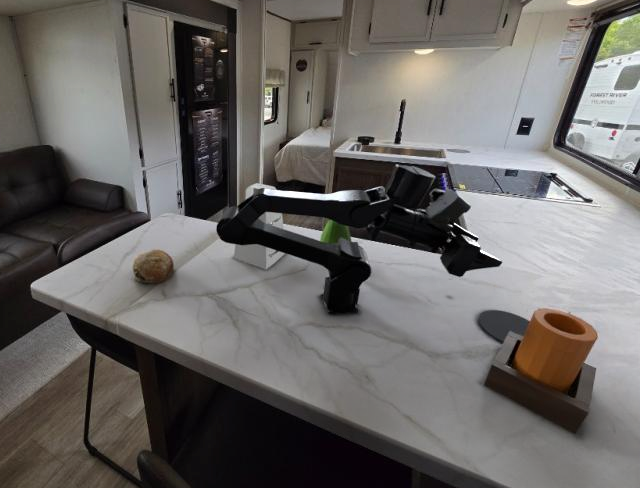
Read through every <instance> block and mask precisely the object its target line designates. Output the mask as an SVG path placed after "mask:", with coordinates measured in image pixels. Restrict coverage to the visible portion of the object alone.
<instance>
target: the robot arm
mask: <svg viewBox="0 0 640 488" xmlns="http://www.w3.org/2000/svg"><path fill="white" fill-rule="evenodd" d="M435 179H436V175H434V174H433V173H431V172H429V171H427V170H424V169H422V168H420V167H416V166H413V165H410V166H409V165H401V164H398V163H396V164H395V165H394V167H393V170H392V172H391V175H390V178H389V179H388V182H387V183H386V185H385V187H384V186H383V185H380V186H377V187H374V188H371V189H367V190H362V189H349V190H340V191H336V192H333V193H313V192H304V191H301V192H300V191H291V190H279V189H276V190H270V189H267V188H260V189H257V190H255V192H254V193H253V195H252V196H250V197H248V198H247V199H246V198H245V199H244V200H242V201H241V202H240V203H239V204H237V205H233V206H230V207H227V209H225V210H224V212H223V213H222V215H221V217H220V219H219V220H218V222H217V224H216V228H215V229H216V230H215V231H216V234H217V236H218V238H219V240H221V241H222V242H224V243H226V244H231V245H253V244H257V245H261V246H264V247H267V248H270V249H273V250H276V251H275V252H282V253H285V254H284V255H289V256H292V257H295V258H298V259H300V260H304V261H307V262H311V263H313V264H316V265H319V266H322V267H324V268H325V269H326V270H327V271H328V276H325V277H324V285H323V293H321V294H320V295H319V298H320V299H321V301H322V303H323V305H324V308H325V309H326V312H327V314H328V315H342V314H344V315H345V314H357V313H359V308H358V307H357V305H358V304H359V298H360V293H361V288H360V287H361V286H362V284H363V283H364V282H366V281H368V279H369V278H370V277H371V275H372V267H371V264H370V261H369V258H368V254H367V252H366V249H364V248H363V246H361V245H359V242H358V241H352V240H351V241H348V240H346V239H344V238H341V237H340V238H339V241H338V243H332V244H328V243H324V242H321V241H320V240H318V239H315V238H312V237H309V236H306V235H304V234H300V233H296V232H293V231H291V230H288V229H284V228H283V229H281V228H278V227H275V226H272V225H269V224H266V223H264V222H262V221H261V220H260V219H259V217H260V216H261V215H263V214H264V213H265V212H272V213H282V215H283V214H284V215H294V216H304V217H314V218H315V217H316V218H324V219H327V220H333V221H335V222H337V223H339V224H342V225H346V226H347V227H348V228H354V229H358V230H359V229H365V231H366V232H367V233H368V234H369V237H370V239H371V241H372V242H375V241H376V240H377V239H378V236H379V234H380V233H383V234H386V235H389V236H391V237H394V238H398V239H402V240H404V241H406V243H407V245H408V246H411V247H415V245H420V246H422V247H426V248H427V250H428V252H429V253H432V254H437V252H438V250H439V249H442V248H443V247H444V250H443V252H442V253H441V254H440V257H439V259H440V262H441V264H442V266H443V268H444V269H445V271H447V273H448V274H449V275H452V276H456V277H458V278H461V277H464V275H465V274H466V272H470V271H474V270H483V269H491V268H492V269H493V268H499V267H501V266H502V264H503V261H502V260H501V259H499V258H498V257H495V256H493V255H492V254H489V253H488V252H485V251H483V250H482V247H481V245H480V244H479V243H478V241H479V240H480V239H479V237H478V236H477V235H475V234H473V233H471V232H470V231H468V230H466V229H465V228H463V227H462V226H460V225H458V224H457V223H455V221H457V219H459V218H460V217H461V216H462V215H464V214H466V213H468V212H469V211H470V210H471V208H472V205H471V204H470V203H469V202H468V201H466V199H464V198H463V197H462V196H460V195H459V194H458V193H457V192H455V190H453V189H451V188H449V189H448V188H446V187H445V189H439V188H433V189H432V190H431V191H430V192H429V193H428V191H429V189H431V186H432V184H433V183H434V182H435ZM427 193H428V194H429V198H430V202H429V206H427V207H426V208H425V209H424V208H417V207H419V206H421V204H422V202H423V200H424V199H425V197H426V195H427ZM412 208H413V209H415V210H412Z"/></svg>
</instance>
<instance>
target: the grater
mask: <svg viewBox="0 0 640 488" xmlns="http://www.w3.org/2000/svg"><path fill="white" fill-rule="evenodd" d="M260 188H267V189H270V190H277V188H276V187H275V186H273V185H268V184H262V183H258V182H256V183H253V184H251V185H249V186H247V188H246V189H245V199H247V198H248V197H250V196H252V195H253V194H254V193H255V192H254V189H257V190H258V189H260ZM259 219H260V220H261V221H262V222H264V223H266V224H269V225H272V226H275V227H278V228H281V229H284V221H283V220H284V219H283V214H282V213H272V212H265V213H264V214H263V215H261V216H260V217H259ZM276 220H277V221H276ZM275 252H276V253H275ZM271 255H272V256H271ZM285 255H286V254H285V253H282V252H279V251H276V250H273V249H270V248H267V247H264V246H261V245H257V244H253V245H236V244H234V253H233V259H235V260H238V261H241V262H244V263H246V264H250V265H252V266H256V267H258V268H261V269H262V270H267V269H269V268H270V267H271V266H273V265H274V264H275V263H276V262H277V261H279V260H280V259H281V258H282V257H284V256H285Z"/></svg>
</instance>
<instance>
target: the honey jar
mask: <svg viewBox="0 0 640 488" xmlns="http://www.w3.org/2000/svg"><path fill="white" fill-rule="evenodd" d="M529 321H530V322H529V325H528V327H527V329H526V332H525V334H524V336H523V339H522V341H521V343H520V345H519V348H518V350H517V352H516V355H515V357H514V359H513V360H512V362H511V363H510V366H509V367H510V368H512V369H514V370H516V371H518V372H520V373H523V374H525V375H527V376H529V377H531V378H533V379H535V380H537V381H539V382H541V383H543V384H545V385H547V386H549V387H551V388H553V389H555V390H557V391H559V392H561V393H563V394H566V395H568V393H569V392H570V390H571V388H570V387H571V385H572V384H573V382H574V380H575V378H576V376H577V374H578V373H579V371H580V369H581V367H582V365H583V364H584V363H586V360H587V358H588V356H589V354H590V353H591V351H592V349H593V347H594V345H595V344H596V341H597V340H598V338H599V336H598V331H597V330H596V329H595V327H593V326H592V324H590V323H588V322H587V321H585V320H584V319H582V318H581V317H579V316H576V315H574V314H572V313H569V312H566V311H564V310H560V309H556V308H547V307H545V308H544V307H542V308H538V309H536V310H534V311H533V314H532V316H531V317H530V320H529Z"/></svg>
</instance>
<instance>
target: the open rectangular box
mask: <svg viewBox="0 0 640 488" xmlns="http://www.w3.org/2000/svg"><path fill="white" fill-rule="evenodd" d="M522 339H523V336H520V335H518V334H516V333H513V332H511V331H509V333H508V335H507V337H506V338H505V340H504V342H503V343H501V346H500V348H499V350H498V351H497V353H496V355H495V357H494V359H493V361H492V363H491V365H490V368H489V369H488V370H489V371H488V373H487V376H486V378H485V380H484V383H483V385H484V386H485V387H487V388H489V389H491V390H493V391H494V392H496V393H498V394H500V395H502V396H504V397H506V398H508V399H509V400H511V401H513V402H515V403H517V404H518V405H520V406H522V407H524V408H526V409H528V410H530V411H532V412H534V413H535V414H537V415H539V416H540V417H543V418H544V419H546V420H548V421H550V422H552V423H554V424H555V425H558V427H561V428H563V429H564V430H566V431H568V432H571V433H572V434H574V435H576V434H577V433H578V432H579V430H580V428H581V426H582V425H583V424H584V421H585V420H586V418H587V416H588V415H589V413H590V407H591V402H592V396H593V391H594V385H595V378H596V373H597V367H594V366H593V365H591V364H588V363H586V362H584V364H583V365H582V367H581V369H580V371H579V373H578V374H577V376H576V378H575V380H574V382H573V384H572V385H571V387H570V390H569V395H568V394H567V395H566V394H563V393H561V392H559V391H557V390H555V389H553V388H551V387H549V386H547V385H545V384H543V383H541V382H539V381H537V380H535V379H533V378H531V377H529V376H527V375H525V374H523V373H520V372H518V371H516V370H514V369H512V368H510V366H508V364H509V361H510V360H511V361H513V359H514V357H515V355H516V352H517V350H518V348H519V345H520V343H521V341H522Z"/></svg>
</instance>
